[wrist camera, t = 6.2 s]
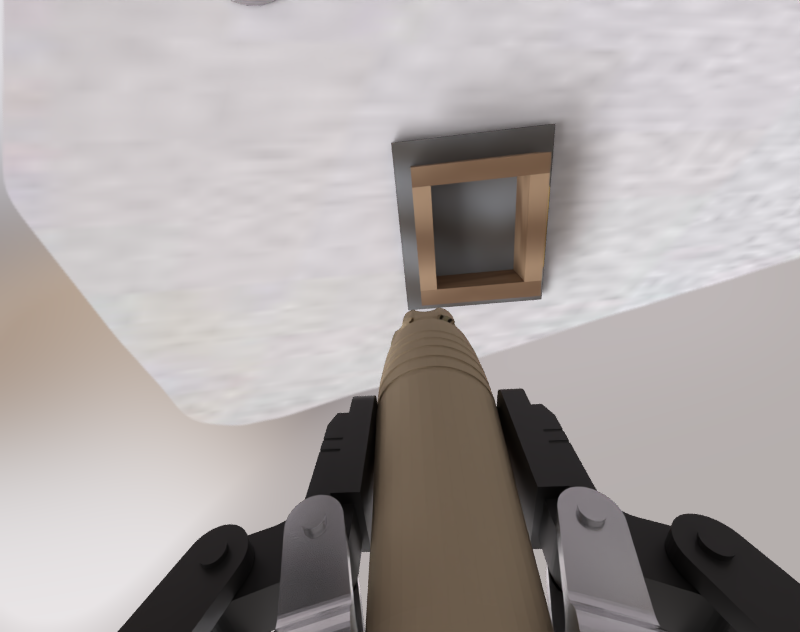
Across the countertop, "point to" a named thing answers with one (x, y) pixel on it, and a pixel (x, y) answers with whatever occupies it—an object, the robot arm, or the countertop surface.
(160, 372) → the countertop surface
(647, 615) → the robot arm
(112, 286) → the countertop surface
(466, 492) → the handle
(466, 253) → the socket
